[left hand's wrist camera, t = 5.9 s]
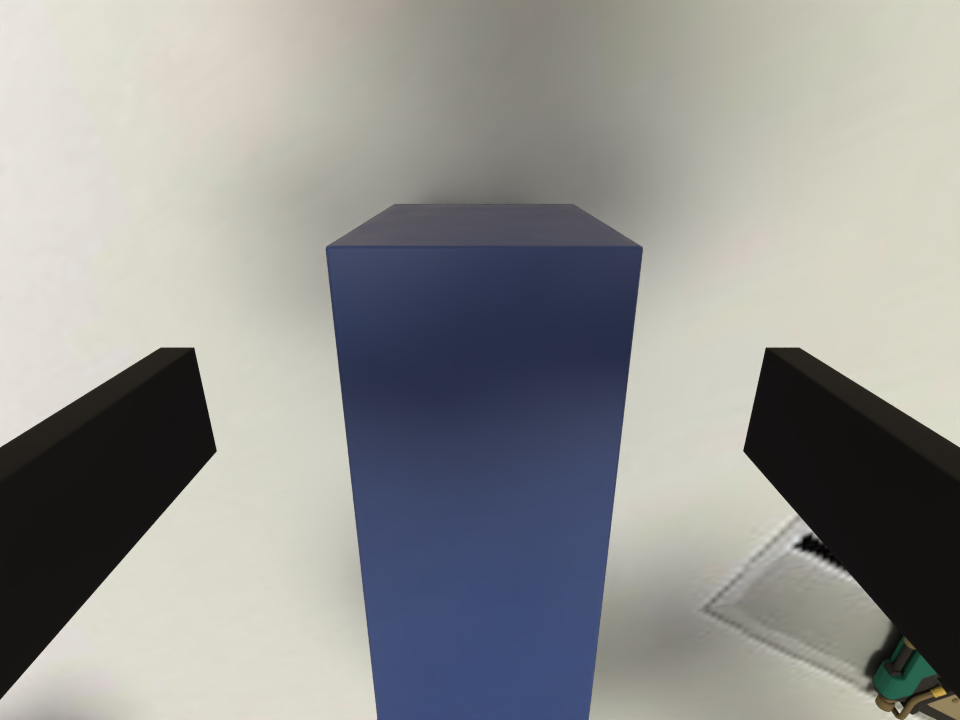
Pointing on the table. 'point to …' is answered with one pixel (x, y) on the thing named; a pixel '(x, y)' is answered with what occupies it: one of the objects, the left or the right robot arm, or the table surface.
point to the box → (483, 448)
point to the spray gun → (913, 686)
